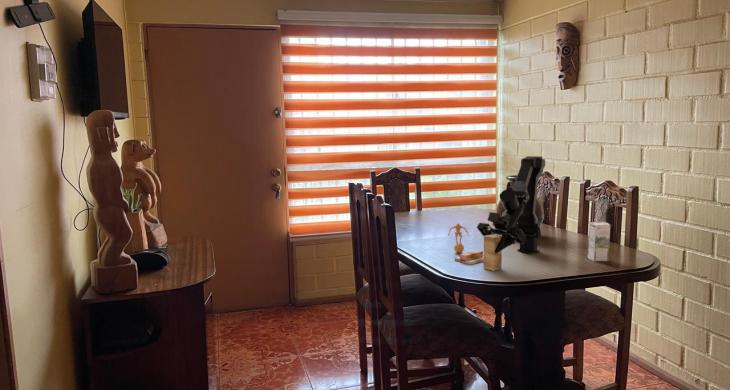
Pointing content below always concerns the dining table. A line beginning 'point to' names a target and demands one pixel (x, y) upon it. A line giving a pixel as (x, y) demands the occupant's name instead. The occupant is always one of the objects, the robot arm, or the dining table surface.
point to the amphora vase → (538, 209)
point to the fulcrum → (471, 257)
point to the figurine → (458, 246)
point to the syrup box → (598, 241)
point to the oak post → (492, 253)
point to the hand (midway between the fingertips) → (490, 251)
